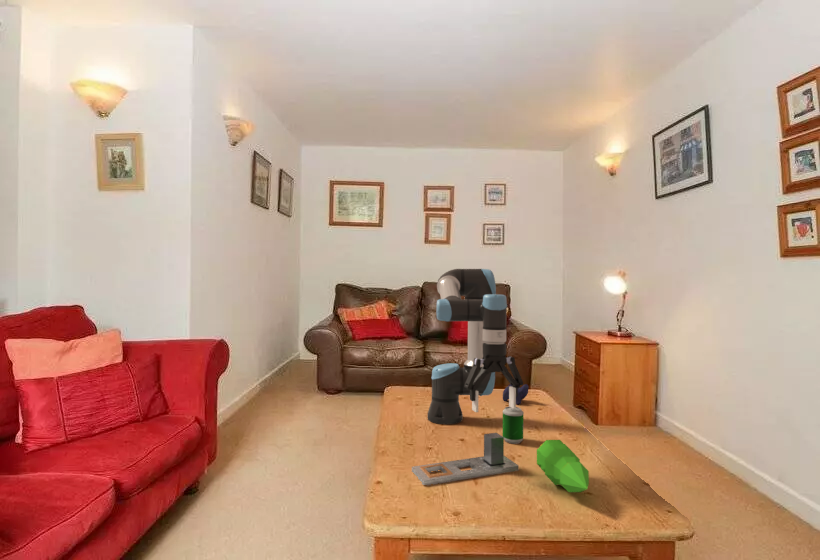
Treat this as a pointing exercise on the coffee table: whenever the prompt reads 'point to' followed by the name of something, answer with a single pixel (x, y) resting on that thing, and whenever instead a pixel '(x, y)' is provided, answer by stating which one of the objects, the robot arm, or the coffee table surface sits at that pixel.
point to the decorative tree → (562, 466)
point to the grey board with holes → (455, 474)
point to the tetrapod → (521, 393)
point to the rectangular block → (493, 449)
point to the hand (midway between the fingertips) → (494, 409)
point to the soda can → (513, 425)
